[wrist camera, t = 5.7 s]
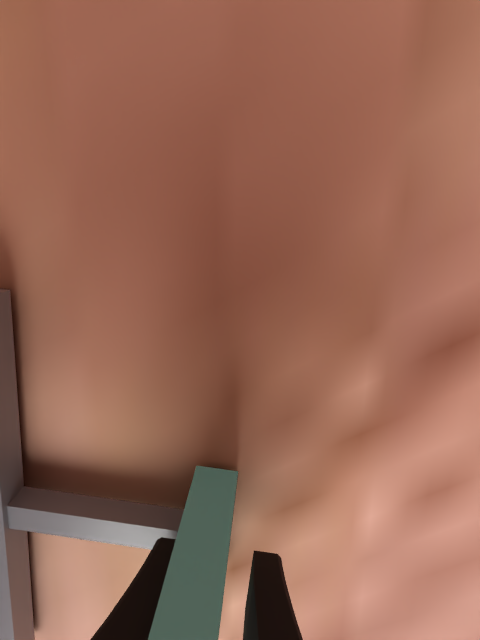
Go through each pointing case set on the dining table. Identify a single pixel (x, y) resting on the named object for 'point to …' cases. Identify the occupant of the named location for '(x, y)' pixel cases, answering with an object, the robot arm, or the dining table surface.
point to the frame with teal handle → (111, 528)
